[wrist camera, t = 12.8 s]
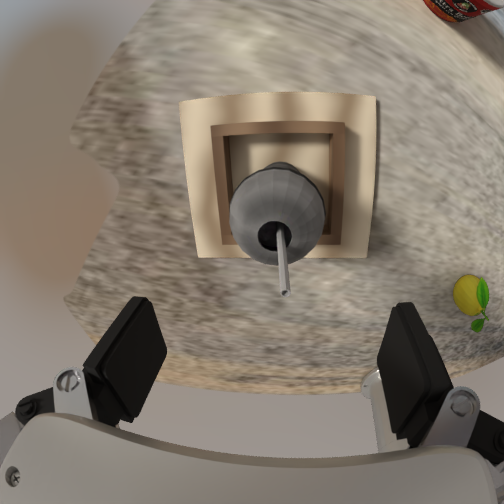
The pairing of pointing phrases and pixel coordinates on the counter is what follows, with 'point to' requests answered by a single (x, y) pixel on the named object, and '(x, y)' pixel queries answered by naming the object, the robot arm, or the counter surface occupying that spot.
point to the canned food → (462, 8)
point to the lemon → (472, 298)
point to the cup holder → (285, 150)
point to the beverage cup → (277, 217)
